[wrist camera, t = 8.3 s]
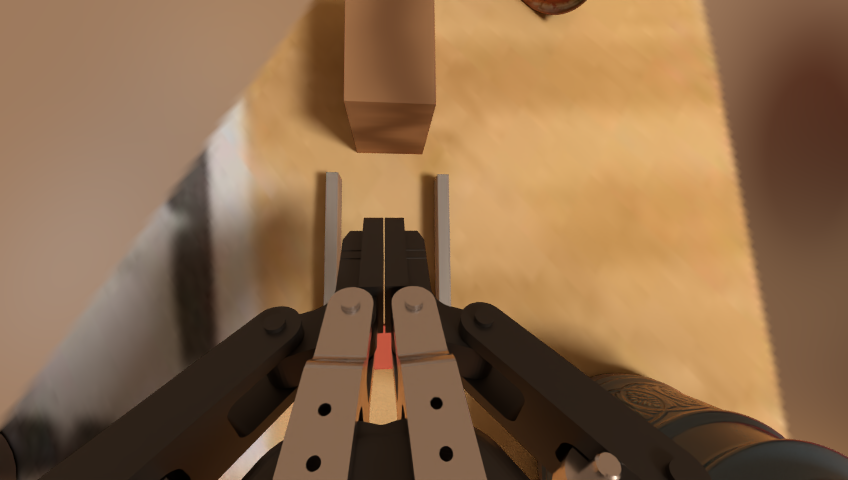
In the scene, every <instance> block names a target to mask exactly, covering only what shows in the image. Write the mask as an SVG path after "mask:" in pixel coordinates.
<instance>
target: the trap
mask: <svg viewBox="0 0 848 480" xmlns="http://www.w3.org/2000/svg"><path fill="white" fill-rule="evenodd" d="M374 369H393V368H392V358H391V333H385V325H383V333H377V349H376V351H375V364H374Z"/></svg>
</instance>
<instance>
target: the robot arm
mask: <svg viewBox="0 0 848 480" xmlns="http://www.w3.org/2000/svg"><path fill="white" fill-rule="evenodd" d="M383 276H384V253H383V218H364V223H363V231H350V232H349V233H348V234H347V235H346V237H345V238H344V239H343V243H342V249H341V256H340V263H339V270H338V277H337V284H336V290H335V293H334V294H333V295H332V296H331V297H330V299H329V301H328V303H327V304H326V305H324V306H322V307H321V308H319V309H316V310H313V311H310V312H306V313H303V314H298V312H297V311H296V310H294V309H292V308H289V307H284V306H280V307H273V308H270V309H267V310H265V311H263V312H262V313H260V314H259V315H257V316H256V317H255V318H253V319H252V320H251V321H249V322H248V323H247V324H245V325H244V326H243V327H241V328H240V329H239V330H237V331H236V332H235V333H233V334H232V335H231V336H229V337H228V338H227V339H225V340H224V341H223V342H221V343H220V344H219V345H217V346H216V347H215V348H213V349H212V350H211V351H209V352H208V353H207V354H205V355H204V356H203V357H201V358H200V359H199V360H197V361H196V362H195V363H193V364H192V365H190V366H189V367H188V368H186V369H185V370H184V371H182V372H181V373H180V374H178V375H177V376H176V377H174V378H173V379H172V380H170V381H169V382H168V383H166V384H165V385H164V386H162V387H161V388H160V389H158V390H157V391H156V392H154V393H153V394H152V395H150V396H149V397H148V398H146V399H145V400H144V401H142V402H141V403H140V404H138V405H137V406H136V407H134V408H133V409H132V410H130V411H129V412H128V413H126V414H125V415H124V416H122V417H121V418H120V419H118V420H117V421H116V422H114V423H113V424H112V425H110V426H109V427H107V428H106V429H105V430H103V431H102V432H101V433H99V434H98V435H97V436H95V437H94V438H93V439H91V440H90V441H89V442H87V443H86V444H85V445H83V446H82V447H81V448H79V449H78V450H77V451H75V452H74V453H73V454H71V455H70V456H69V457H67V458H66V459H65V460H63V461H62V462H61V463H59V464H58V465H57V466H55V467H54V468H53V469H51V470H50V471H49V472H47V473H46V474H45V475H43V476H42V477H41V478H39V479H38V480H218V479H219V478H220V477H221V476H222V475H223V474H224V473H225V472H226V471H227V470H228V469H229V468H230V467H231V466H232V465H233V464H234V463H235V462H236V461H237V459H238V458H239V457H240V456H241V455H242V454H243V453H244V452H245V451H246V450H247V449H248V448H249V447H250V446H251V445H252V444H253V443H254V442H255V441H256V440H257V439H258V438H259V437H260V436H261V435H262V434H263V433H264V432H265V431H266V430H267V429H268V428H269V427H270V426H271V425H272V424H273V423H274V422H275V421H276V420H277V419H278V417H279V416H280V415H281V414H282V413H283V412H284V411H285V410H286V409H287V408H288V407H289V406H290V405H291V404H292V403H293V402H294V405H293V408H292V412H291V416H290V419H289V423H288V426H287V430H286V433H285V437H284V440H283V441H281V442H280V443H278V444H277V445H276V446H274V447H273V448H272V449H270V450H269V451H268V452H267V453H266V454H265V455H264V456H263V457H261V458H260V459H259V461H258V462H257V463H256V464H255V465H254V466H253V467H252V468H251V469H250V471H249V472H248V473H247V474H246V475H245V476H244V477H243V478H242V480H530V479H529V478H528V477H527V476H526V475H525V474H524V473H523V471H522V470H521V469H520V468H519V467H518V466H517V465H516V464H515V463H514V462H513V461H512V459H511V458H510V457H509V456H508V455H507V454H506V453H505V452H504V451H503V450H502V449H501V447H500V446H499V445H498V444H497V443H496V442H495V441H493V440H492V439H491V438H490V437H489V436H488V435H486V434H485V433H483V432H482V431H480V430H479V429H477V428H475V427H473V424H472V420H471V416H470V412H469V408H468V404H467V401H466V397H465V393H464V389H465V390H466V391H467V392H468V393H469V394H470V395H471V396H472V397H473V398H474V399H475V400H476V401H477V402H478V403H479V404H480V405H481V406H482V407H483V408H484V409H485V410H486V411H487V412H488V413H489V414H491V415H492V416H493V417H494V418H495V419H496V420H497V421H498V422H499V423H500V424H501V425H502V426H503V427H504V428H505V429H506V430H507V431H508V432H509V433H510V434H511V435H512V436H513V437H514V438H515V439H516V440H517V441H518V442H519V443H520V444H521V445H522V446H523V447H524V448H525V449H526V450H527V451H528V452H529V453H530V454H531V455H533V456H534V457H535V458H536V459H537V460H538V461H539V462H540V463H541V464H542V465H543V466H544V467H545V468H546V469H547V470H548V471H549V472H550V473H551V474H552V475H553V476H552V480H712V479H711V477H710V475H709V474H708V472H707V471H706V469H705V468H704V467H703V466H702V464H701V463H700V462H699V461H698V460H697V459H696V458H695V457H694V456H692V455H691V454H690V453H689V452H687V451H686V450H685V449H683V448H682V447H681V446H680V445H678V444H677V443H676V442H674V441H673V440H672V439H670V438H669V437H668V436H666V435H665V434H664V433H662V432H661V431H660V430H658V429H657V428H656V427H654V426H653V425H652V424H650V423H649V422H648V421H646V420H645V419H644V418H642V417H641V416H640V415H638V414H637V413H636V412H634V411H633V410H632V409H630V408H629V407H628V406H627V405H625V404H624V403H623V402H621V401H620V400H619V399H617V398H616V397H615V396H613V395H612V394H611V393H609V392H608V391H607V390H605V389H604V388H603V387H601V386H600V385H599V384H597V383H596V382H595V381H593V380H592V379H591V378H589V377H588V376H587V375H585V374H584V373H583V372H581V371H580V370H579V369H577V368H576V367H575V366H574V365H572V364H571V363H570V362H568V361H567V360H566V359H564V358H563V357H562V356H560V355H559V354H558V353H556V352H555V351H554V350H552V349H551V348H550V347H548V346H547V345H546V344H544V343H543V342H542V341H540V340H539V339H538V338H536V337H535V336H534V335H532V334H531V333H530V332H528V331H527V330H526V329H525V328H523V327H522V326H521V325H519V324H518V323H517V322H515V321H514V320H513V319H511V318H510V317H509V316H507V315H506V314H505V313H503V312H502V311H501V310H499V309H498V308H497V307H495V306H493V305H491V304H488V303H484V302H476V303H472V304H469V305H468V306H466V307H465V308H464V309H459V308H455V307H451V306H448V305H445V304H443V303H442V302H440V301H439V300H438V299H437V298H436V297H435V296H434V295H433V293H432V291H431V286H430V279H429V272H428V265H427V259H426V251H425V243H424V239H423V238H422V236H421V235H420V234H419V232H418V231H405V229H404V218H385V333H391V358H392V368H393V377H394V387H395V397H396V408H397V421H394V422H391V423H388V424H384V425H377V424H373V423H369V413H370V401H371V392H372V383H373V373H374V364H375V351H376V349H377V333H383ZM463 388H464V389H463ZM0 480H16V465H15V461H14V457H13V453H12V451H11V449H10V447H9V445H8V443H7V441H6V439H5V438H4V437H3V436H2V435H1V434H0Z"/></svg>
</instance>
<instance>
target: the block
mask: <svg viewBox="0 0 848 480" xmlns="http://www.w3.org/2000/svg"><path fill="white" fill-rule="evenodd" d="M344 103H345V107H346V111H347V115H348V119H349V123H350V127H351V131H352V134H353V138H354V142H355V146H356V150H357V153H392V154H422V153H423V150H424V146H425V142H426V139H427V135H428V131H429V128H430V124H431V121H432V117H433V113H434V110H435V106H436V77H435V15H434V0H345V47H344Z"/></svg>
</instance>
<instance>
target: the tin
mask: <svg viewBox="0 0 848 480" xmlns="http://www.w3.org/2000/svg"><path fill="white" fill-rule="evenodd" d="M523 1H524V2H525V3H526V4H527V5H528V6H530V7H531V8H533V9H534V10H536V11H539V12H541V13H544V14H549V15H560V14H564V13H568V12H570V11H573V10H575V9H576V8H578V7H579V6H581V5H582V4H583V3H584V2H585V1H586V0H523Z"/></svg>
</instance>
